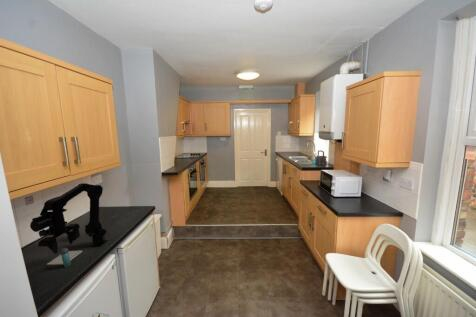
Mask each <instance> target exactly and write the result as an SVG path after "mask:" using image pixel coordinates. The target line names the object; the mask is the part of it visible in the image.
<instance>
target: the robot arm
mask: <svg viewBox="0 0 476 317" xmlns="http://www.w3.org/2000/svg"><path fill="white" fill-rule="evenodd" d="M103 190H104V188H103V186H102V185H101V184H90V183H88V182H87V183H86V182H85V183H84V182H83V183H79V184H77V185H76V186H74V187H73V188H71V189H70V190H68V191H66V192H64V193H63V194H61V195H58V196H56V197H53V198H51V199H47V200H46V201H45V202H44V203H43V207H42V209H41V211H40V214H39V216H36V217H34V218H33V217H32V219H31V222H30V225H29V228H30V229H31V230H32V231H33V232H35V233H38V236H39V237H40V238H42V239H40V240H39V241H38V247H47V248H48V249H49V250H50V251H51V252H52V253H53V254H54V255H56V254H58V247H59V246H58V241H57V239H58V238H60V237H61V236H63V235H65V234H66V235H68V236H67V240H68V239H69V240H68V242H69V244H70V245H71V244H73V242H74V241H75V240H74V237H75V235H76V232H77V231H78V229H79V230H80V228H81V227H80V224H79V223H70V224H68V221H65V220H66V219H65V216H64V213H65V212H67V211H68V209H66V208H64V207H65V206H67V204H68V202H69V201H71V200H73V199H74V198H76V197H77V196H79V195H80V194H82V193H83V192H86V195H87V197H88V198H89V222H88V223H87V224H85V225H84V228H85V229H84V232H85V234H86V235H87V236H88V237H91V241H92V245H90V246H91V248H92V247H94V248H95V247H101V246H103V245H104V244H105V243H106V242H108V239H106V238H105V235H106V234H107V229H104V228H103V226H102V223H101V221H100V198H101V197H102V195H103ZM67 224H68V225H67ZM43 237H44V238H43ZM73 240H74V241H73Z"/></svg>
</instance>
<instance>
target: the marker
mask: <svg viewBox="0 0 476 317" xmlns="http://www.w3.org/2000/svg"><path fill="white" fill-rule="evenodd" d="M68 251H69V249H68V247H63V248H61V249H60V250H59V252H60V253H59V254H60V255H61V256H62V260H63V267H64V268H65V269H66V268H68V267H71V266H72V263H71V260H70V258H69V253H68Z"/></svg>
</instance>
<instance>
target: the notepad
mask: <svg viewBox="0 0 476 317" xmlns="http://www.w3.org/2000/svg"><path fill="white" fill-rule="evenodd" d="M68 253H69V258H70V261H72V260H73V259H75V257H77V256H79V255H80V254H81V253H83V250H68ZM60 265H63V260H62V256H61V254H59V255H58V256H57V257H55V258H54V259H52V260H51V261H49V262H48V263H46V266H60ZM63 266H64V265H63Z"/></svg>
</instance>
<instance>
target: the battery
mask: <svg viewBox="0 0 476 317" xmlns="http://www.w3.org/2000/svg"><path fill="white" fill-rule="evenodd" d="M66 235H67V234H66ZM80 236H81V233H80V228H79V229H78V231H77V232H76V235H75V237H74V240H73V242H74V241H76V240H77V239H79V237H80ZM67 237H68V235H67ZM67 240H68V241H69V239H68V238H67Z"/></svg>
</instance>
